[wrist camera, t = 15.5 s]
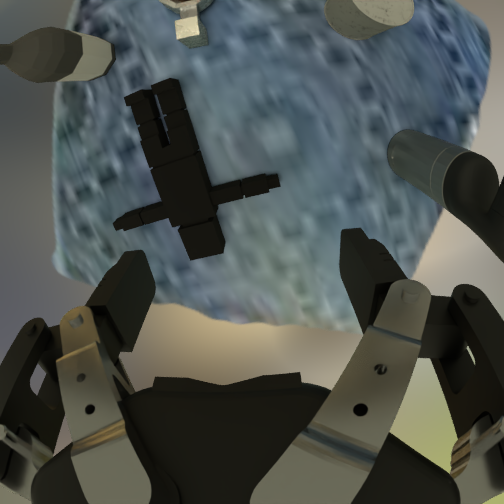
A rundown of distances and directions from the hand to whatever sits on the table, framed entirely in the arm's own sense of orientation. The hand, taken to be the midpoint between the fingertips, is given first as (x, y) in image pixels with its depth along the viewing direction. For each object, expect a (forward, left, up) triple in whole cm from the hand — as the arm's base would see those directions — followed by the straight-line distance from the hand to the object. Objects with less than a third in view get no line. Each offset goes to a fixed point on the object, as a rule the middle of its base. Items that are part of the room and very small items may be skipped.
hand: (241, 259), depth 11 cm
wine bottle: (+24, -20, -36) cm, 48 cm away
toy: (+12, +4, -37) cm, 39 cm away
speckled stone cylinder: (-19, -21, -36) cm, 46 cm away
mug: (+6, -23, -36) cm, 43 cm away
